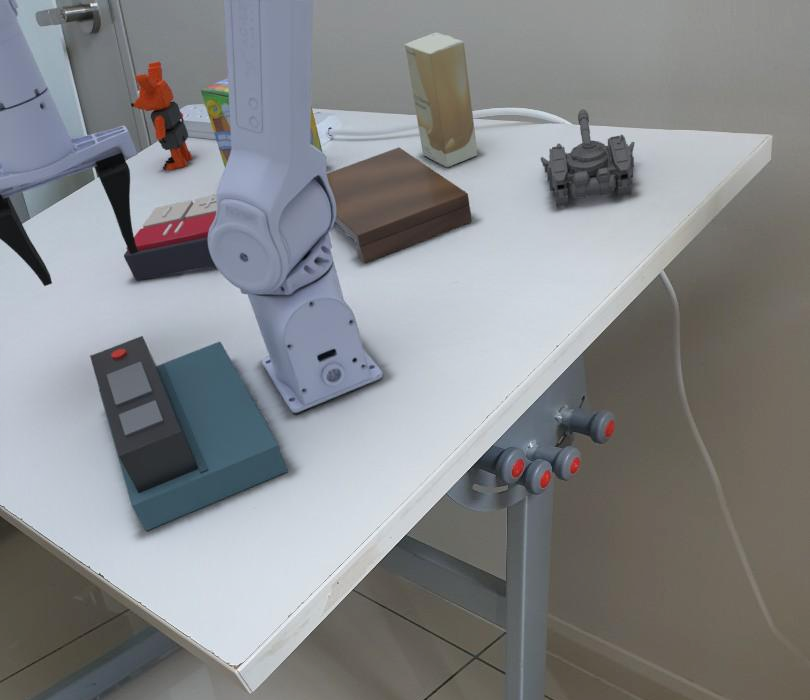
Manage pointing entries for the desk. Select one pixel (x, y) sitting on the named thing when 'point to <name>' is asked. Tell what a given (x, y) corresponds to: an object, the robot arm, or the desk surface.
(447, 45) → the cosmetic box
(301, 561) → the desk surface
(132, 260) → the calculator
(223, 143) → the chalk box
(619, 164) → the tank toy
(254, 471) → the teal grooved block
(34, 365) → the desk surface
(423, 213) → the wooden keepsake box
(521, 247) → the desk surface
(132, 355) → the remote
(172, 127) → the toy animal
